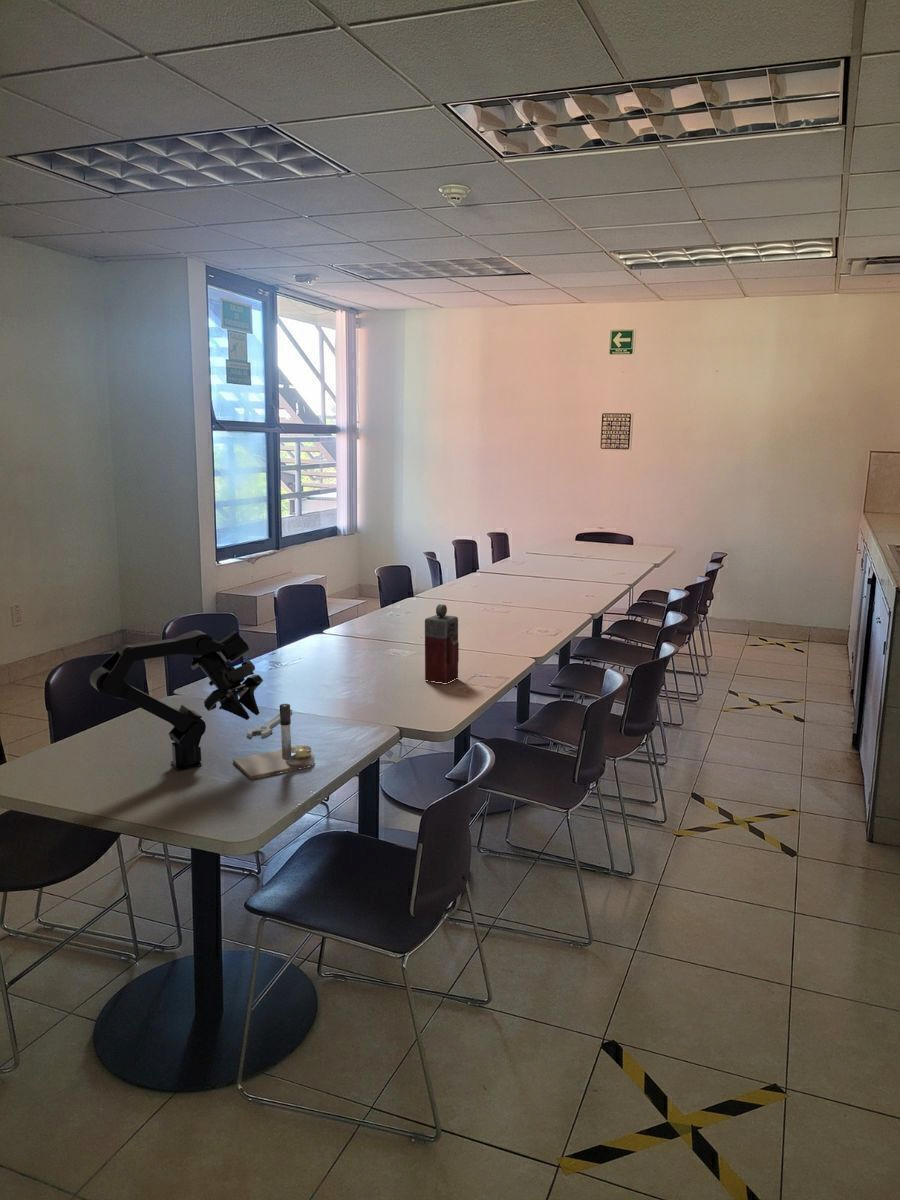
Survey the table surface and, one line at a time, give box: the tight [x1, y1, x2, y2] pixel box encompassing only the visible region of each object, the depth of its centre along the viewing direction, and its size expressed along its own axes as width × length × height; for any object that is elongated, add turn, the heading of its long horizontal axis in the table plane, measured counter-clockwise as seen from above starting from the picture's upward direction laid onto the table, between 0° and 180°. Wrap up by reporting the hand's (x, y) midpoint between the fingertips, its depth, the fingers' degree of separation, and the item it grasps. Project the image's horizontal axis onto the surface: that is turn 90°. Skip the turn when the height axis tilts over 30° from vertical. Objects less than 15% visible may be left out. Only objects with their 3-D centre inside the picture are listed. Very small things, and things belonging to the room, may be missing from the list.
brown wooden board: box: [232, 749, 316, 780], centre depth 228 cm, size 19×14×2 cm
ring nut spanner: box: [279, 703, 312, 760], centre depth 224 cm, size 10×6×16 cm, turn 156°
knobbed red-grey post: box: [424, 603, 460, 683], centre depth 305 cm, size 9×11×28 cm
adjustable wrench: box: [246, 708, 293, 739], centre depth 260 cm, size 25×6×2 cm, turn 162°
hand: (253, 716), depth 224 cm, fingers open, 4 cm apart
